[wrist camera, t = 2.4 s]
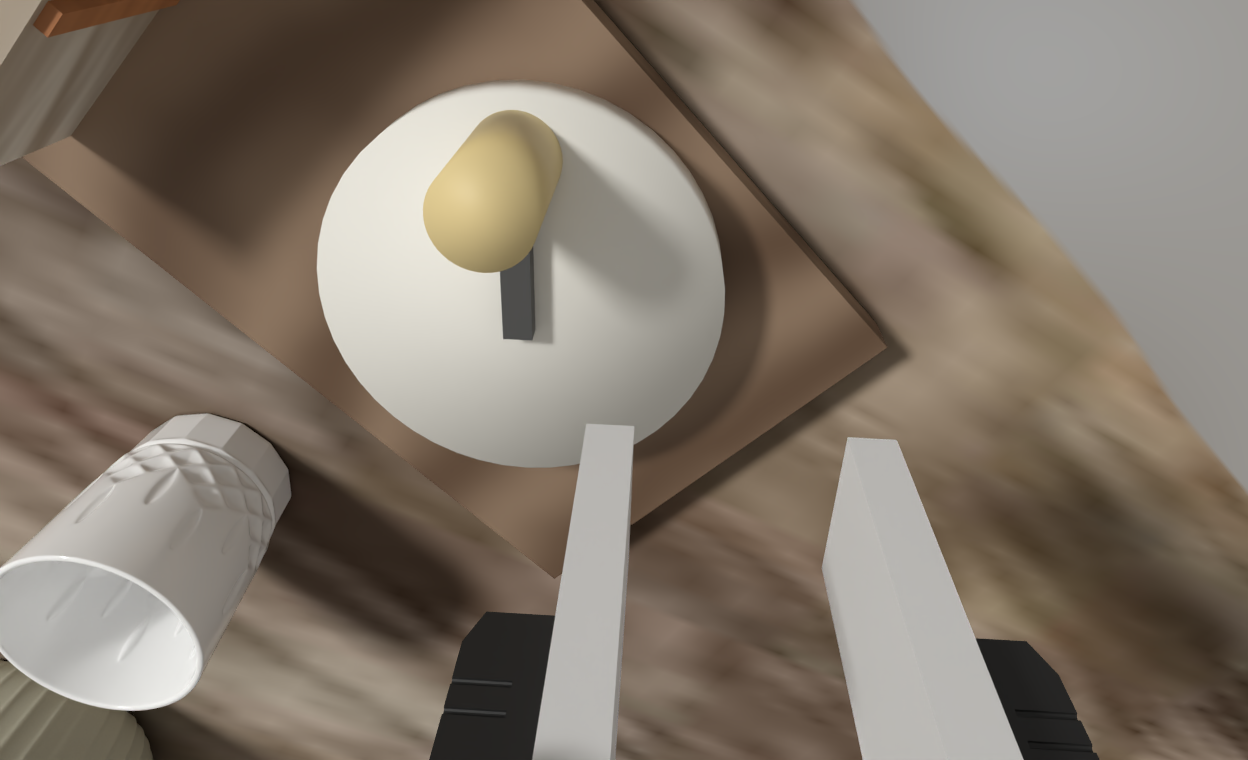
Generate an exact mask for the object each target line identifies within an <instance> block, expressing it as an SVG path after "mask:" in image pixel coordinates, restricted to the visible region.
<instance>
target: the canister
mask: <svg viewBox="0 0 1248 760" xmlns="http://www.w3.org/2000/svg"><path fill="white" fill-rule="evenodd" d="M0 760H153V756H152V752H151V750H150V744H149V741H148V739H147V737H146V736H145V734H144V730H143V728H142V727H141V726H140V725H138V724H137V722H136V719H135V717H134V716H133V715H131V714H129V713H128V712H127V711H122V710H112V709H105V708H100V707H95V706H91V705H87V704H84V703H81V702H77V701H74V700H72V699H69V698H66V697H64V696H62V695H59V694H57V693H55V692H53V691H51V690H49V689H47V688H45V687H43V686H42V685H40V684H38V683H37V682H35V681H33V680H32V679H30V678H29V677H27V676H26V675H25V674H23V673H22V672H21V671H19V670H18V669H17V668H16V667H15V666H14V665H12V664H11V663H10V662H9V661H2V660H0Z"/></svg>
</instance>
